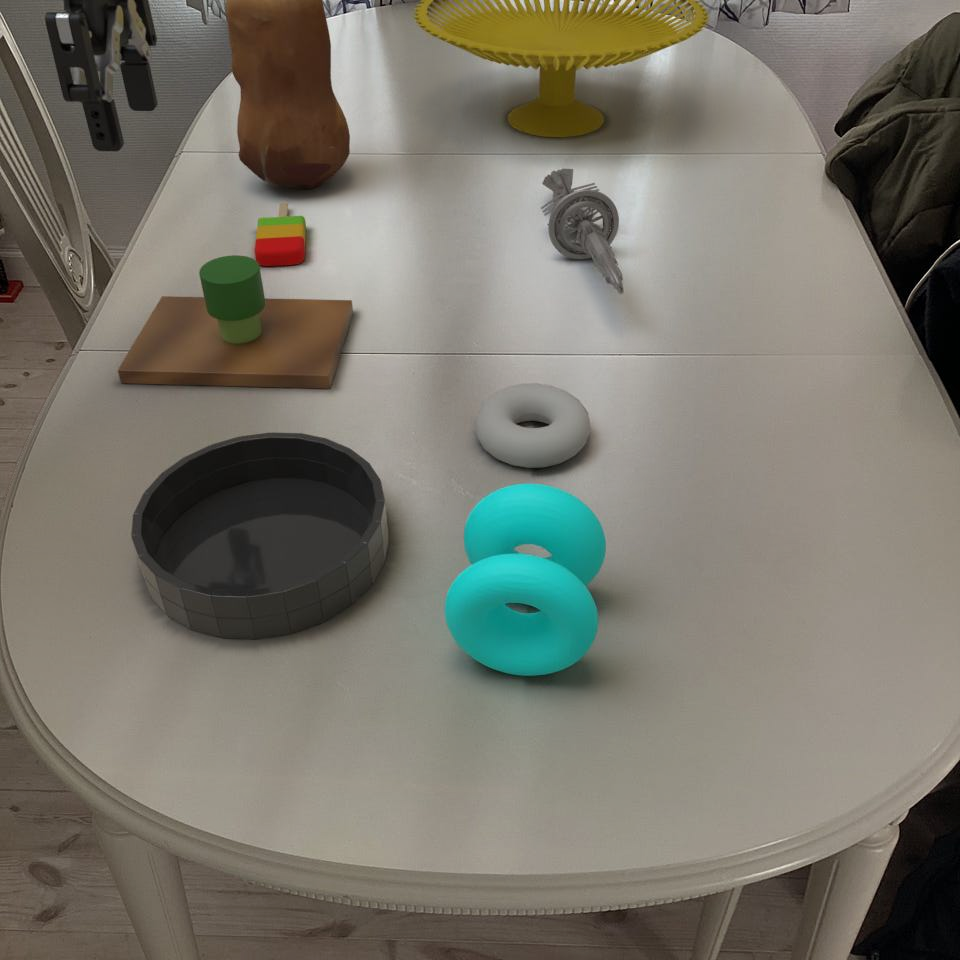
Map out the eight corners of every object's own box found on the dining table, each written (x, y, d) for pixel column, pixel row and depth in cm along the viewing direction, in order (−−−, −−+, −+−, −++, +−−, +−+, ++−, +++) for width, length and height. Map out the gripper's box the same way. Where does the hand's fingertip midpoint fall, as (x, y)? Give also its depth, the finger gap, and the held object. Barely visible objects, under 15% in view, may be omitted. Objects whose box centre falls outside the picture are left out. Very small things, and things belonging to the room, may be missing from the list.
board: (120, 383, 96) (117, 370, 95) (164, 308, 107) (161, 295, 106) (330, 388, 95) (328, 375, 94) (353, 312, 106) (352, 299, 105)
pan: (110, 636, 72) (94, 592, 69) (184, 472, 86) (173, 429, 83) (370, 646, 71) (364, 601, 68) (401, 478, 85) (398, 435, 82)
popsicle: (255, 268, 113) (252, 253, 112) (262, 210, 125) (260, 196, 124) (305, 265, 114) (303, 250, 113) (307, 208, 125) (305, 193, 124)
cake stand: (544, 202, 126) (548, 79, 116) (362, 113, 150) (354, 4, 141) (755, 125, 145) (773, 13, 136) (564, 57, 170) (568, -42, 160)
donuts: (602, 586, 75) (612, 482, 68) (591, 693, 67) (601, 587, 61) (468, 571, 76) (466, 468, 70) (443, 674, 69) (438, 569, 62)
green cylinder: (205, 347, 98) (191, 282, 94) (220, 317, 102) (208, 254, 98) (263, 349, 98) (251, 284, 93) (275, 319, 102) (265, 255, 98)
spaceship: (569, 270, 96) (647, 234, 95) (514, 162, 125) (573, 134, 124) (597, 338, 100) (672, 305, 99) (537, 219, 129) (595, 192, 128)
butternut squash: (323, 155, 138) (300, -47, 122) (371, 188, 130) (354, -25, 114) (228, 179, 132) (191, -30, 116) (272, 216, 124) (239, -5, 108)
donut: (564, 489, 84) (605, 422, 90) (566, 457, 81) (608, 390, 88) (455, 458, 87) (503, 395, 94) (454, 427, 85) (502, 364, 92)
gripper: (60, -120, 77) (111, 97, 87) (-23, -80, 66) (47, 163, 76) (158, -120, 76) (198, 98, 86) (91, -80, 65) (146, 165, 76)
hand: (127, 128), depth 81 cm, fingers open, 8 cm apart
